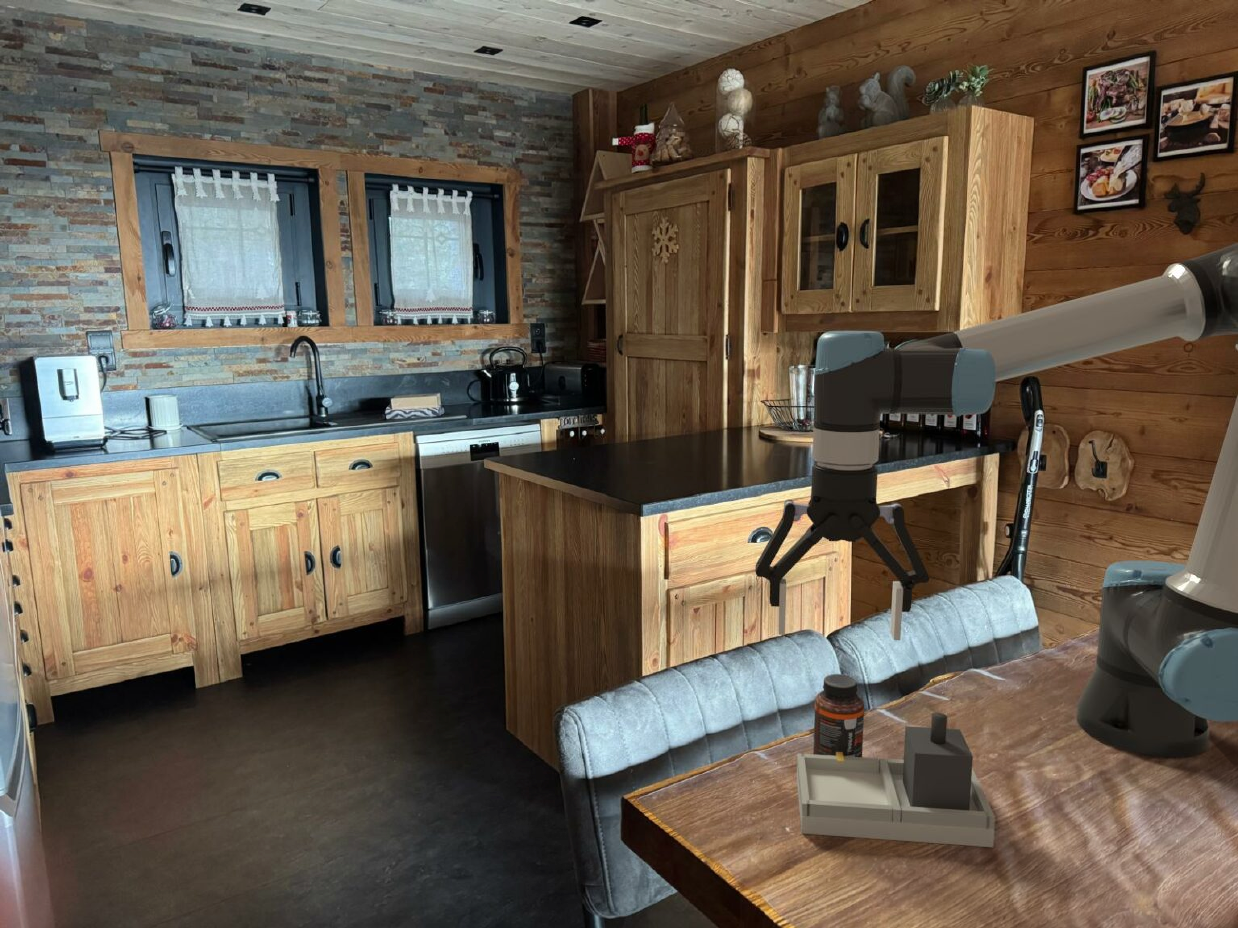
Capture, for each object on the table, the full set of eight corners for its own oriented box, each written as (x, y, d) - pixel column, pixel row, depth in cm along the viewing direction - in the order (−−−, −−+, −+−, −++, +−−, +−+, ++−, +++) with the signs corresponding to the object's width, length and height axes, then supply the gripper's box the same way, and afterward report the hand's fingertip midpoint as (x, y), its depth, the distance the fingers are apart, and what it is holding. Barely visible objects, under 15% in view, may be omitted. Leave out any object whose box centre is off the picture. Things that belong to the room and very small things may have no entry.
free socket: (877, 766, 105) (877, 754, 104) (891, 821, 94) (892, 807, 94) (796, 762, 106) (797, 749, 106) (802, 815, 95) (802, 801, 95)
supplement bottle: (863, 779, 106) (867, 692, 104) (813, 774, 107) (815, 689, 105) (860, 753, 112) (863, 671, 109) (812, 749, 113) (815, 668, 111)
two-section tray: (967, 787, 104) (969, 759, 103) (993, 847, 93) (995, 815, 92) (796, 777, 107) (797, 749, 106) (801, 833, 95) (802, 802, 95)
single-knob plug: (956, 784, 101) (961, 704, 99) (969, 815, 95) (974, 730, 93) (902, 781, 102) (906, 702, 100) (911, 811, 96) (916, 727, 94)
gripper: (948, 459, 104) (937, 626, 108) (738, 455, 108) (735, 617, 112) (963, 471, 97) (950, 650, 101) (737, 467, 101) (734, 640, 105)
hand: (837, 633), depth 107 cm, fingers open, 13 cm apart
